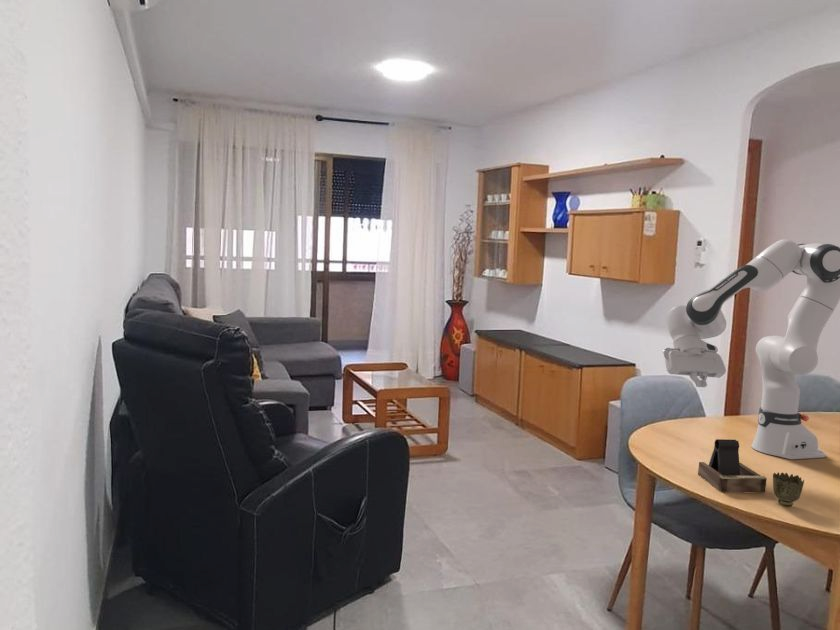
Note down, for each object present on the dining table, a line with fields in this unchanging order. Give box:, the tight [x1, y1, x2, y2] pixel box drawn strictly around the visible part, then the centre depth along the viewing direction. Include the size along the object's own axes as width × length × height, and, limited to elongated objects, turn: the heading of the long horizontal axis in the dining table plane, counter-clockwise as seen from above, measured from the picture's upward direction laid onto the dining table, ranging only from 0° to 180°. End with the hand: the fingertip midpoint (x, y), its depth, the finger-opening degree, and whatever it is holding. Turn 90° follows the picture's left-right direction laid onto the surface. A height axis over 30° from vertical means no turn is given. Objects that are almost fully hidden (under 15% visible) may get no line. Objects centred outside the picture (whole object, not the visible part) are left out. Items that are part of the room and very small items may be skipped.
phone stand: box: [708, 438, 741, 476], centre depth 197 cm, size 9×6×12 cm, turn 4°
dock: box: [697, 461, 768, 494], centre depth 193 cm, size 13×14×4 cm
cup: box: [772, 472, 805, 508], centre depth 178 cm, size 8×7×8 cm
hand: (702, 386), depth 212 cm, fingers closed
